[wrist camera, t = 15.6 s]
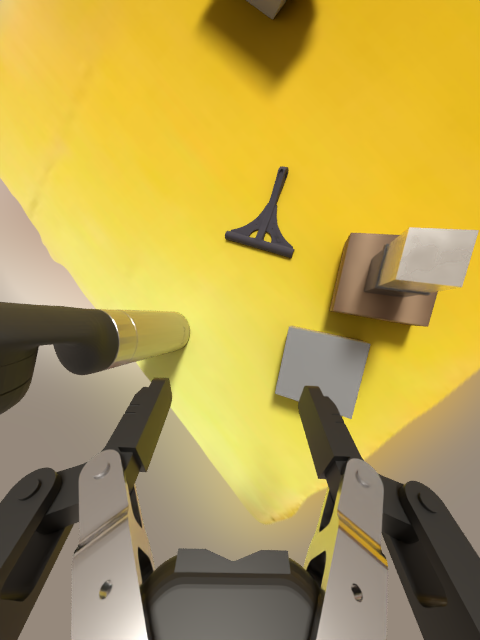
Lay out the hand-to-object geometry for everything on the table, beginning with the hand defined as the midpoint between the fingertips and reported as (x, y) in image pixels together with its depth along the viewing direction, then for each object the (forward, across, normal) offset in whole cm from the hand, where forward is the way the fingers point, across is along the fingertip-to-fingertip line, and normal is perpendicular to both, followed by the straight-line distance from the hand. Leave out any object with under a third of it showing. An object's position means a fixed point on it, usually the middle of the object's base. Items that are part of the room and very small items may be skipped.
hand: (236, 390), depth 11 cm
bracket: (+35, -6, -9) cm, 37 cm away
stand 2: (+22, -23, -1) cm, 32 cm away
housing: (+19, -21, -2) cm, 29 cm away
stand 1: (+17, -15, +14) cm, 27 cm away
